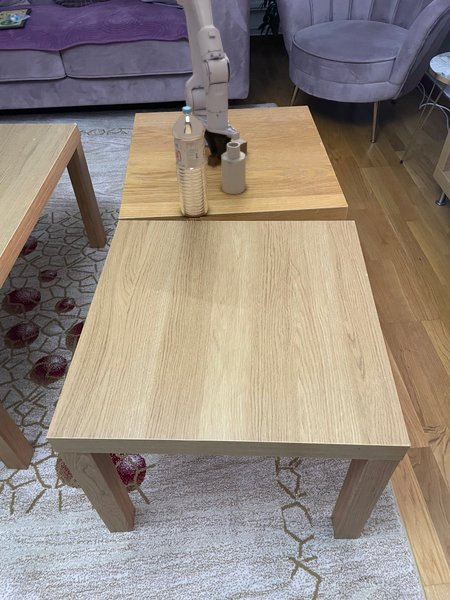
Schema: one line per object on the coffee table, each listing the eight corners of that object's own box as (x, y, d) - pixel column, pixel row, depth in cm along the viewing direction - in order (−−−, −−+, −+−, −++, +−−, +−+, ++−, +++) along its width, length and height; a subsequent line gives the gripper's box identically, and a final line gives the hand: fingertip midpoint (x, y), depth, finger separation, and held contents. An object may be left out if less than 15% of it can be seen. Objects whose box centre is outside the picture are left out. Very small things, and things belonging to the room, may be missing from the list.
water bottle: (204, 220, 108) (198, 115, 90) (177, 217, 109) (166, 113, 91) (211, 204, 112) (206, 102, 95) (184, 202, 113) (175, 100, 96)
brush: (203, 162, 128) (202, 149, 126) (232, 147, 135) (232, 134, 132) (218, 169, 125) (217, 155, 123) (247, 153, 132) (248, 140, 129)
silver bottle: (226, 181, 121) (225, 137, 112) (247, 184, 119) (248, 140, 111) (219, 192, 117) (217, 148, 108) (241, 195, 115) (241, 151, 107)
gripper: (247, 111, 116) (246, 160, 126) (208, 97, 124) (210, 144, 133) (229, 119, 113) (229, 169, 122) (189, 105, 120) (193, 152, 130)
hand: (218, 157), depth 127 cm, fingers closed on brush, 2 cm apart
